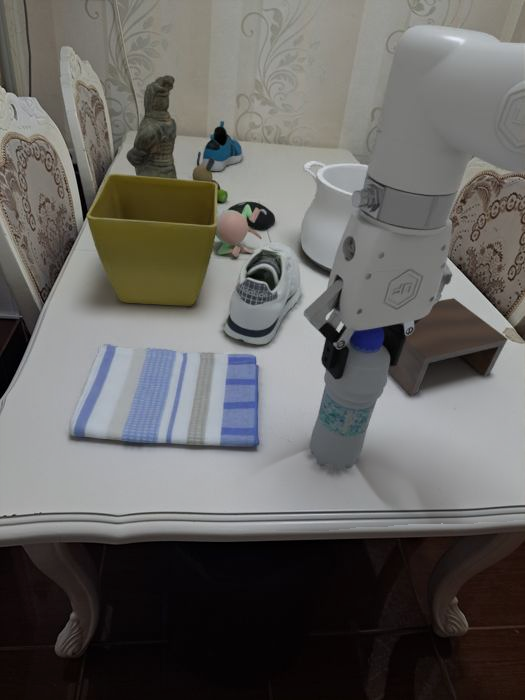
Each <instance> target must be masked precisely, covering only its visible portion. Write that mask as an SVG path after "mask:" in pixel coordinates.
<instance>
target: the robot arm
mask: <svg viewBox="0 0 525 700" xmlns="http://www.w3.org/2000/svg"><path fill="white" fill-rule="evenodd" d="M371 148H372V149H371V152H370V156H369V160H368V164H367V165H368V169H367V173H366V178H365V182H364V186H363V189H361V190H358V191H354V192H353V194H352V204H353V206H354V207H356V208H358V207H359V208H358V210H356V211H353V213H352V215H351V217H350V219H349V221H348V224H347V226H346V229H345V231H344V233H343V236H342V239H341V241H340V244H339V247H338V250H337V253H336V256H335V259H334V263H333V266H332V270H331V272H330V274H329V278H328V282H327V287H326V290H325V291H323V292H322V294H321V295H319V296H318V297H317V298H316V299H315V300H314V301H313V302H312V303H311V304H310V305H309V306H308V307H306V309H305V310H304V311H303V316H304V317H305V319H306V320H307V321H308V322H309V324H310V325H312V326H313V328H315V330H317V331H318V332H319V333H320V334H321V335H322V336H323V337H324V338H325V340H324V344H323V349H322V354H321V359H320V361H321V365H322V366H323V368H324V369H325V370H326V369H327V370H328V371H329V373H330V374H331V375H332V376H333V377H334V379H335V380H337V379H341V377H342V376H343V373H344V369H345V365H346V361H347V358H348V354H349V348H348V347H347V346H346V344H347V342H348V341H349V339H350V338H351V336H352V335H353V333H354V331H361V330H368V329H373V328H379V327H382V329H383V331H384V340H383V344H382V345H383V346H384V347H385V348H386V349H387V350H388V352H389V354H390V364H389V366H391V367H393V366H396V365H397V363H398V360H399V357H400V354H401V351H402V348H403V346H404V343H405V340H406V337H405V336H406V335H410V334H412V333H413V331H414V325H415V324H416V323H417V322H418V321H419V320H420V319H422V318H423V317H425V316H426V315H428V314H429V312H430V311H431V309H432V306H433V305H434V304H436V303H437V302H438V301H441V299H442V292H441V293H440V292H439V286H440V283H441V280H442V276H443V273H444V269H445V265H446V264H447V261H448V256H449V252H450V247H451V239H452V232H453V222H452V220H451V219H450V215H451V212H452V209H453V206H454V204H455V200H456V198H457V195H458V193H459V189H460V187H461V183H462V181H463V177H464V175H465V172H466V169H467V166H468V163H469V160H470V157H471V156H472V157H475V158H476V159H479V160H481V161H482V162H486V163H487V164H489V165H491V166H494V167H496V168H499V169H502V170H504V171H507V172H510V173H515V174H522V175H525V42H505V41H504V42H503V41H501V40H500V39H499V38H497V37H495V36H494V35H491V34H489V33H487V32H482V31H479V30H478V31H477V30H472V29H465V28H461V27H460V28H459V27H452V26H446V25H444V26H443V25H436V24H435V25H434V24H418V25H414V26H411V27H409V28H408V29H406V30H405V31H404V32H403V33H402V35H401V36H400V37H399V40H398V41H397V43H396V45H395V49H394V53H393V56H392V61H391V64H390V69H389V74H388V79H387V82H386V87H385V91H384V96H383V100H382V105H381V107H380V114H379V118H378V121H377V126H376V130H375V134H374V139H373V143H372V147H371ZM329 313H331V314H329ZM328 314H329V317H328V318H327V315H328ZM326 318H327V319H326ZM341 323H342V327H341V328H340V330H339V331H338V330H337V329H338V327H339V325H340V324H341Z"/></svg>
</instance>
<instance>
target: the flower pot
mask: <svg viewBox="0 0 525 700" xmlns="http://www.w3.org/2000/svg"><path fill="white" fill-rule="evenodd" d="M217 189H218V185H217V184H216V183H214V182H207V181H195V180H193V179H183V178H177V179H172V178H159V177H148V176H136V174H135V175H134V174H133V175H132V174H125V173H110V174H108V175H107V176H106V178H105V179H104V182H103V184H102V186H101V188H100V189H99V192H98V194H97V195H96V197H95V199H94V201H93V202H92V204H91V206H90V208H89V209H88V212H87V213H86V218H87V222H88V226H89V230H90V234H91V237H92V240H93V243H94V246H95V249H96V252H97V255H98V256H99V260H100V263H101V266H102V267H103V269H104V272H105V274H106V277H107V278H108V281H109V282H110V284H111V286H112V288H113V290H114V292H115V294H116V296H117V297H118V299H119V301H121V302H122V303H124V304H125V303H128V304H142V305H143V304H144V305H164V306H167V305H168V306H179V307H180V306H182V307H183V306H184V307H191V306H193V305H195V304H196V301H197V299H198V297H199V294H200V292H201V290H202V286H203V284H204V281H205V278H206V276H207V271H208V268H209V264H210V261H211V257H212V254H213V249H214V245H215V239H216V229H217V216H218V200H217Z"/></svg>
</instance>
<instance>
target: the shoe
mask: <svg viewBox="0 0 525 700" xmlns="http://www.w3.org/2000/svg"><path fill="white" fill-rule="evenodd" d="M224 126H225V121H224V120H220V124H219V126H216V127H215V128H214V131H213V133H212V134H210V136H209V137H210V140H209V141H207V143H206V145H205V147H204V149H203V153H202V161H201V165H206V166H207V163H208V161H209V158H211V157H212V158H213V159H214V160H215V163H214V165H213V167H212V168H211V172H223V170H224V169H225V168H226V167H227V166H230V165H236V164H239V163H240V162H241V161H242V160H243V149H242V145H241V144H240V142H239V141H238V140H236V139H232V138H231V136H230V135H229V134H228V132H227V130H226V128H225V127H224Z"/></svg>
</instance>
